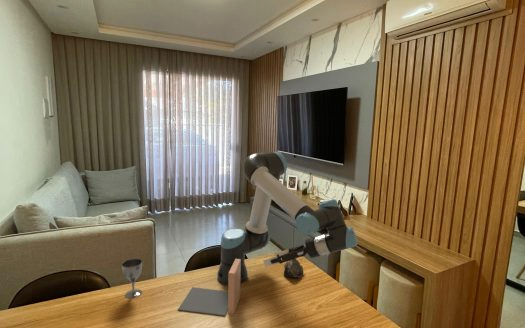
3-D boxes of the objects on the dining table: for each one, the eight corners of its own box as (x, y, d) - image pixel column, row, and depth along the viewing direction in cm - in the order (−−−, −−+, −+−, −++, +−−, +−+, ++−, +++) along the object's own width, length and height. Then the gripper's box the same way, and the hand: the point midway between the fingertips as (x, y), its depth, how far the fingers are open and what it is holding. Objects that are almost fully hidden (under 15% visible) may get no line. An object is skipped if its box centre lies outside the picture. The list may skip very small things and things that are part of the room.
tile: (234, 295, 132) (235, 258, 129) (240, 296, 132) (240, 259, 129) (227, 313, 120) (228, 272, 117) (233, 314, 120) (234, 273, 117)
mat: (192, 288, 137) (192, 287, 137) (234, 292, 134) (234, 291, 134) (177, 310, 121) (177, 309, 121) (224, 316, 119) (224, 315, 118)
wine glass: (147, 290, 134) (145, 260, 131) (134, 301, 126) (132, 268, 124) (133, 287, 136) (131, 257, 134) (119, 296, 129) (117, 265, 126)
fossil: (303, 280, 145) (294, 263, 144) (286, 286, 147) (278, 269, 146) (304, 269, 155) (296, 252, 154) (289, 274, 158) (281, 258, 157)
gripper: (314, 262, 104) (261, 276, 111) (325, 249, 127) (281, 261, 134) (307, 242, 106) (256, 257, 113) (320, 233, 129) (276, 245, 136)
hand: (270, 259), depth 123 cm, fingers open, 13 cm apart
